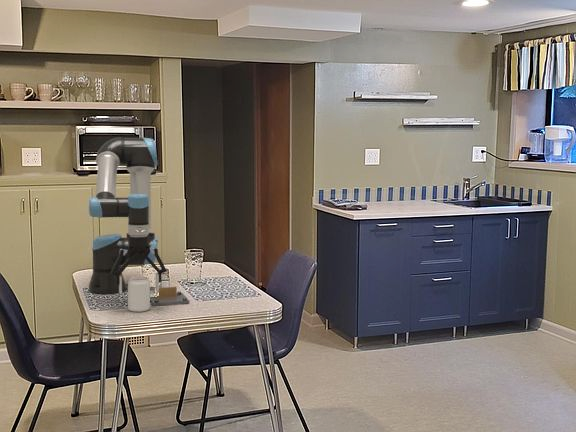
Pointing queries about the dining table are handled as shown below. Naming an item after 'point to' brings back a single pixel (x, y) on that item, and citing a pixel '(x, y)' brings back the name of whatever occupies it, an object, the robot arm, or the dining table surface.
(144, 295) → the beverage can
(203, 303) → the dining table surface
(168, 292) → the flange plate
